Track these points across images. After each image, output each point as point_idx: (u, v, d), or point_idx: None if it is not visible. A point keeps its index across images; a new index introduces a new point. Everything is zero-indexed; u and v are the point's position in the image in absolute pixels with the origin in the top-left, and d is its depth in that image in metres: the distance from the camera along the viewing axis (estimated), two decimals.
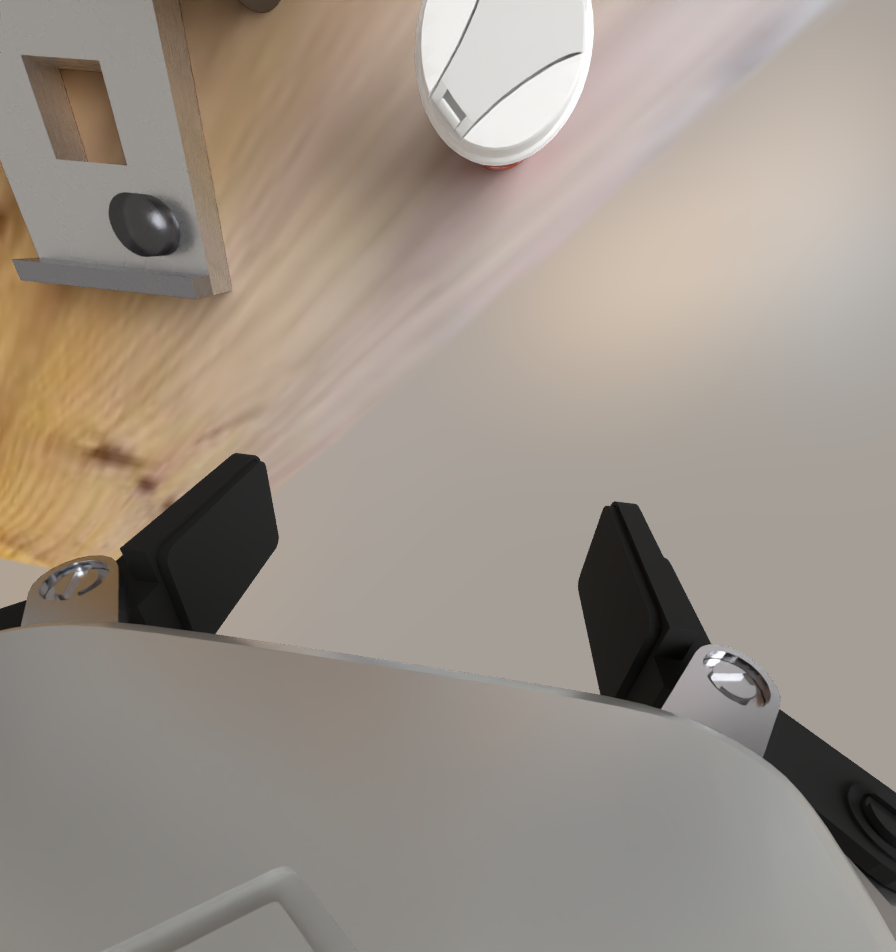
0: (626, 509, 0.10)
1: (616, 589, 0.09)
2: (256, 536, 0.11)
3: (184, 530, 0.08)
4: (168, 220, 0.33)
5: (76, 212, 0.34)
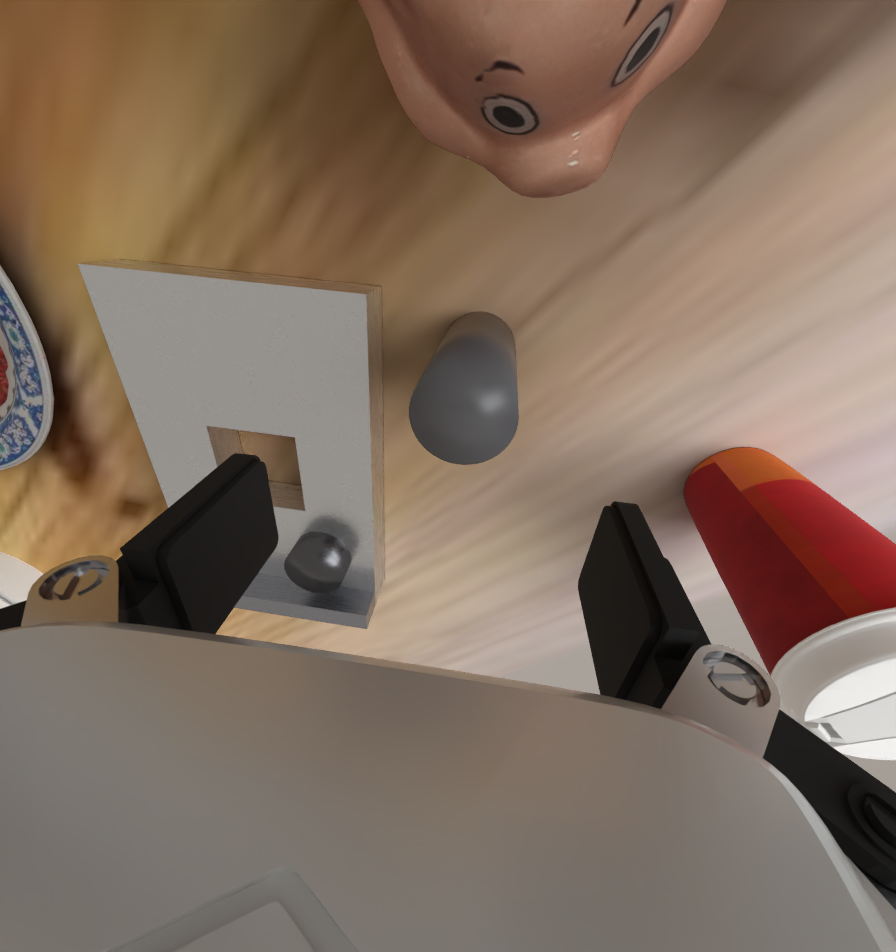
0: (626, 509, 0.10)
1: (616, 589, 0.09)
2: (256, 536, 0.11)
3: (184, 530, 0.08)
4: (345, 561, 0.30)
5: None
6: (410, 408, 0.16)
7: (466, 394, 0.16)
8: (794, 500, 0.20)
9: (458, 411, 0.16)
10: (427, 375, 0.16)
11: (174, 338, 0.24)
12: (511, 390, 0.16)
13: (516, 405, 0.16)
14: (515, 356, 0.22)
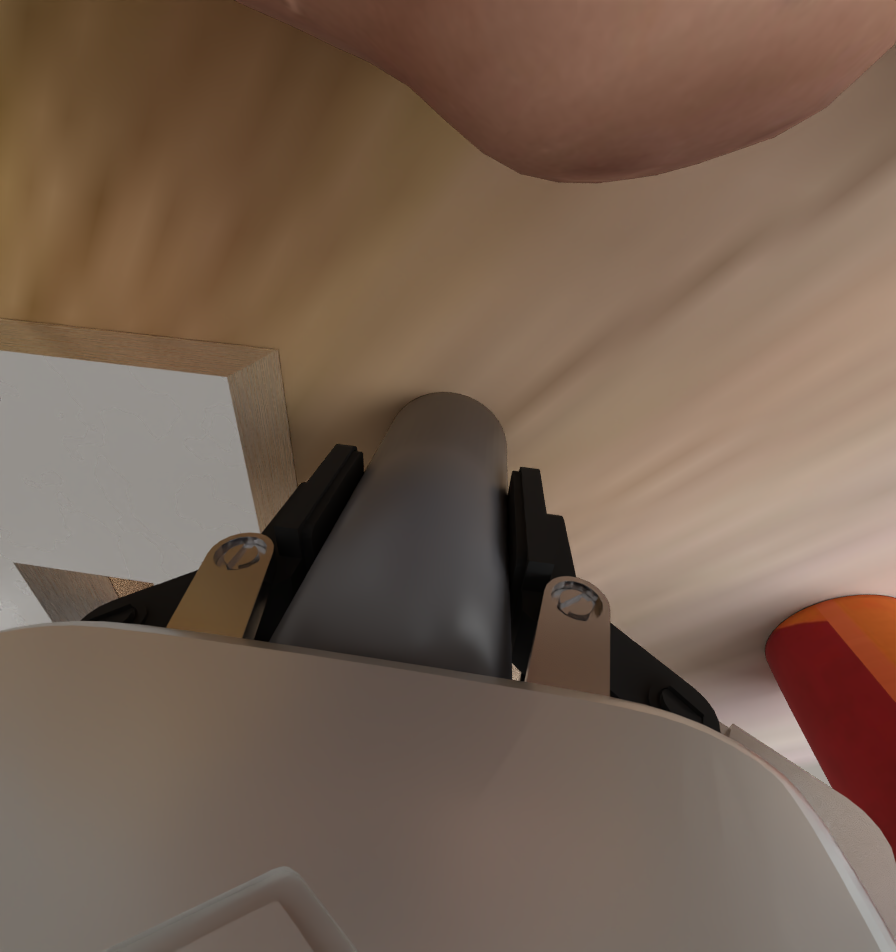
0: (527, 472, 0.11)
1: (509, 540, 0.10)
2: None
3: (319, 511, 0.09)
4: None
5: None
6: None
7: None
8: None
9: None
10: None
11: None
12: None
13: None
14: (506, 484, 0.12)
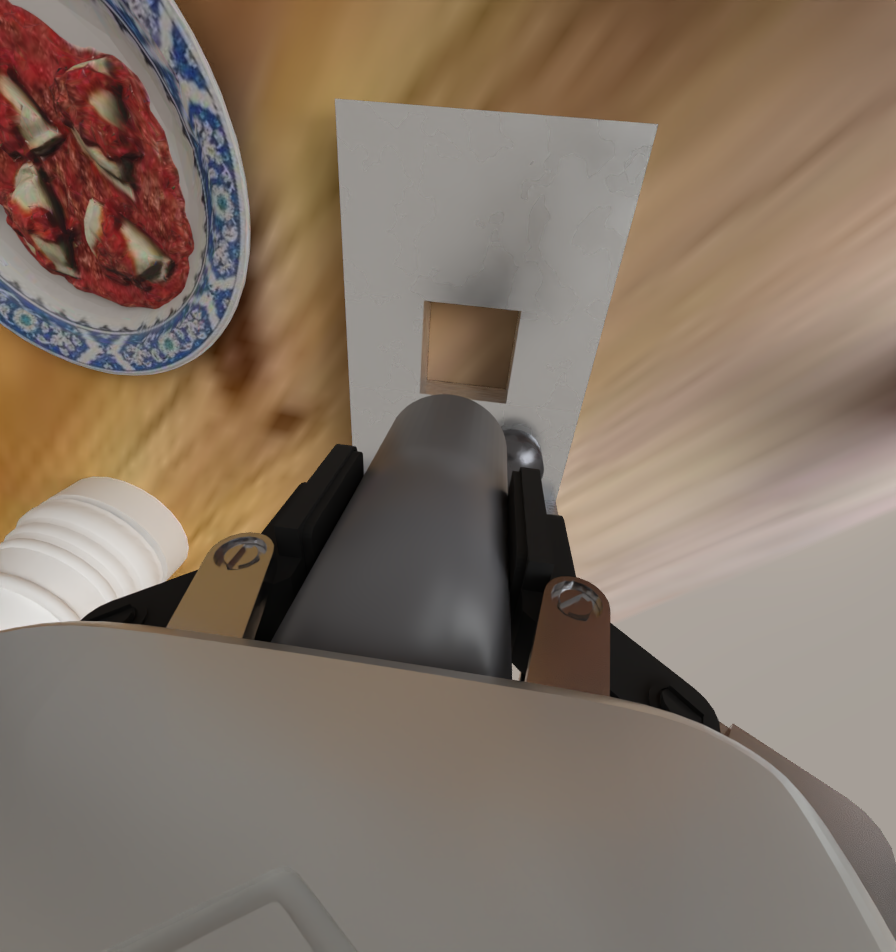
0: (527, 472, 0.11)
1: (509, 540, 0.10)
2: None
3: (319, 511, 0.09)
4: None
5: None
6: None
7: None
8: None
9: None
10: None
11: (420, 190, 0.22)
12: None
13: None
14: (506, 486, 0.12)
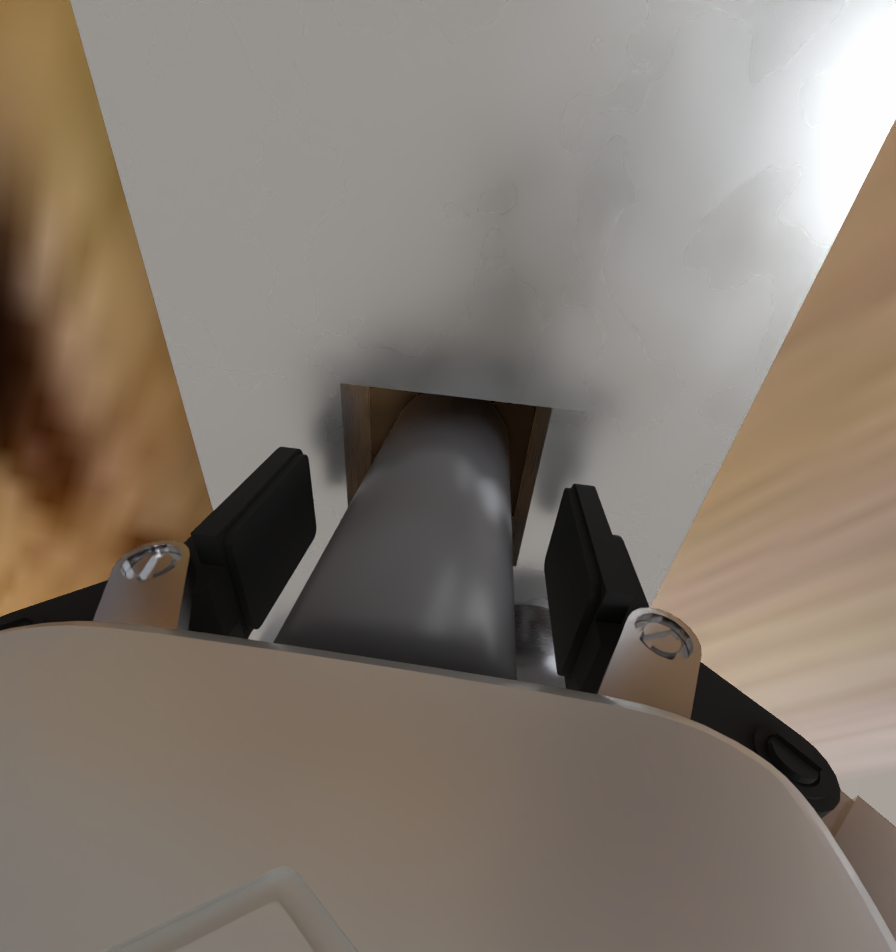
0: (583, 490, 0.10)
1: (569, 563, 0.09)
2: (299, 526, 0.11)
3: (245, 517, 0.09)
4: None
5: None
6: None
7: None
8: None
9: None
10: (292, 628, 0.06)
11: (302, 128, 0.09)
12: (500, 665, 0.06)
13: None
14: (509, 474, 0.12)
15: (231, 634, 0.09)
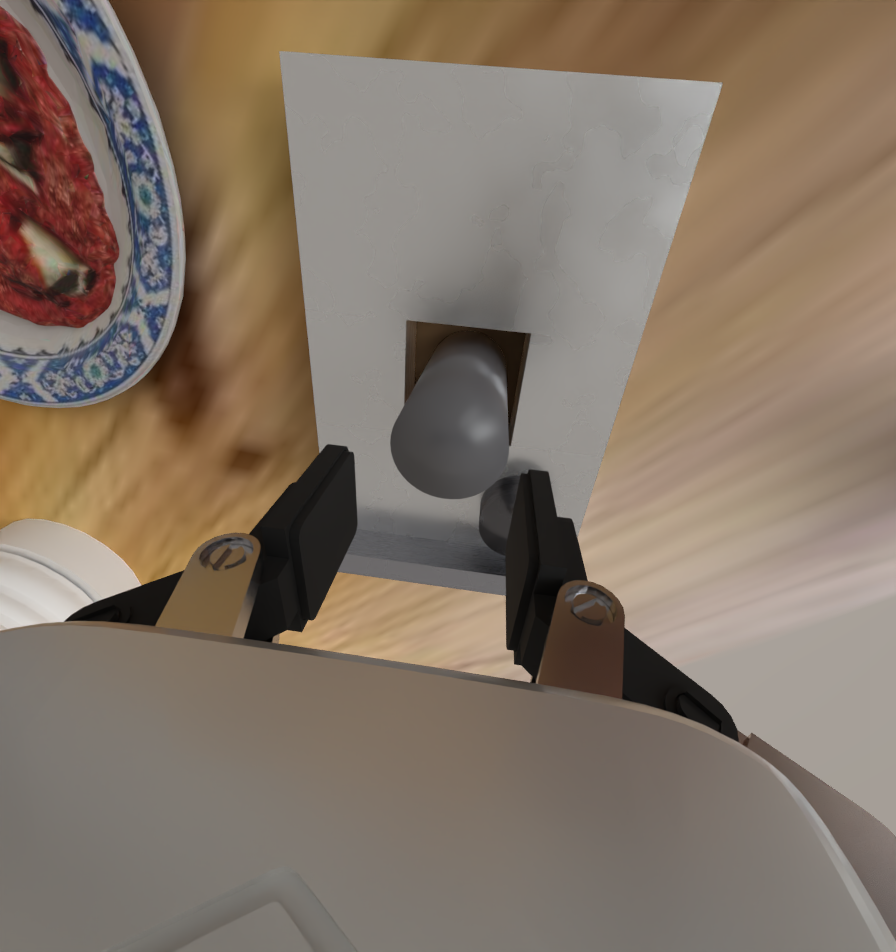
0: (536, 475, 0.11)
1: (519, 543, 0.10)
2: (345, 521, 0.12)
3: (307, 511, 0.09)
4: None
5: (404, 487, 0.25)
6: (391, 440, 0.15)
7: (452, 426, 0.14)
8: None
9: (443, 443, 0.15)
10: (409, 405, 0.14)
11: (398, 176, 0.17)
12: (500, 421, 0.14)
13: (506, 437, 0.14)
14: (506, 378, 0.20)
15: None
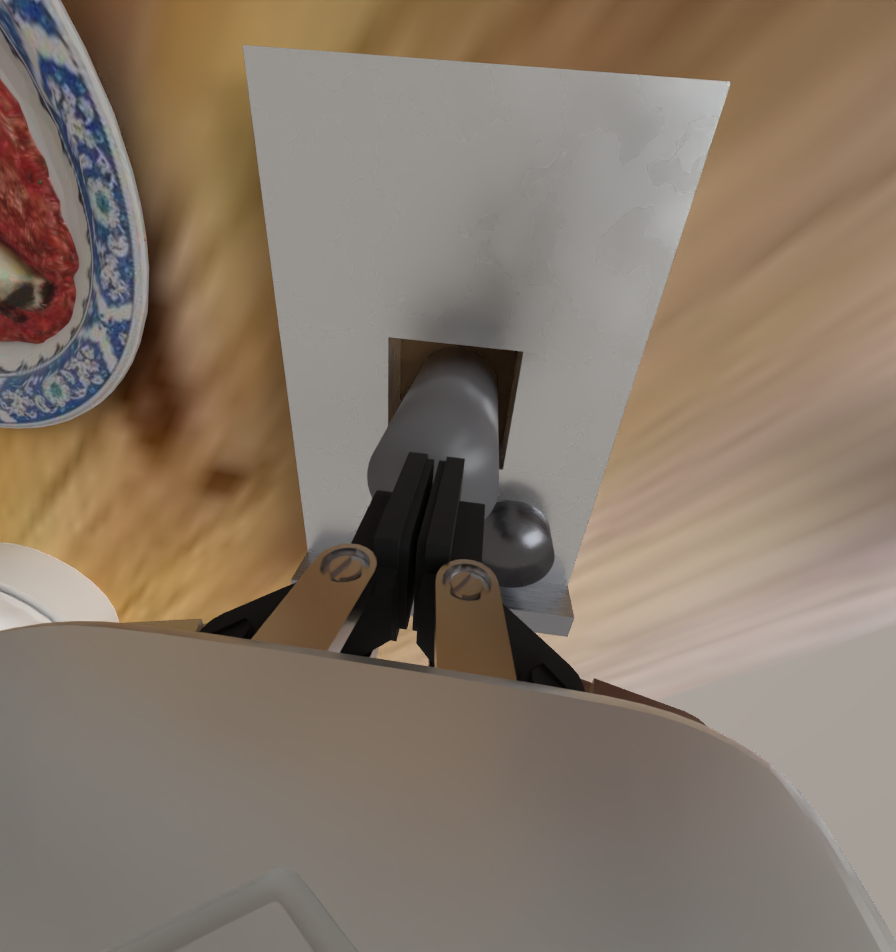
0: (451, 461, 0.11)
1: None
2: None
3: (411, 521, 0.09)
4: None
5: None
6: (368, 474, 0.14)
7: (435, 459, 0.13)
8: None
9: None
10: (387, 437, 0.13)
11: (376, 183, 0.15)
12: (489, 455, 0.13)
13: (496, 472, 0.13)
14: (497, 399, 0.19)
15: None
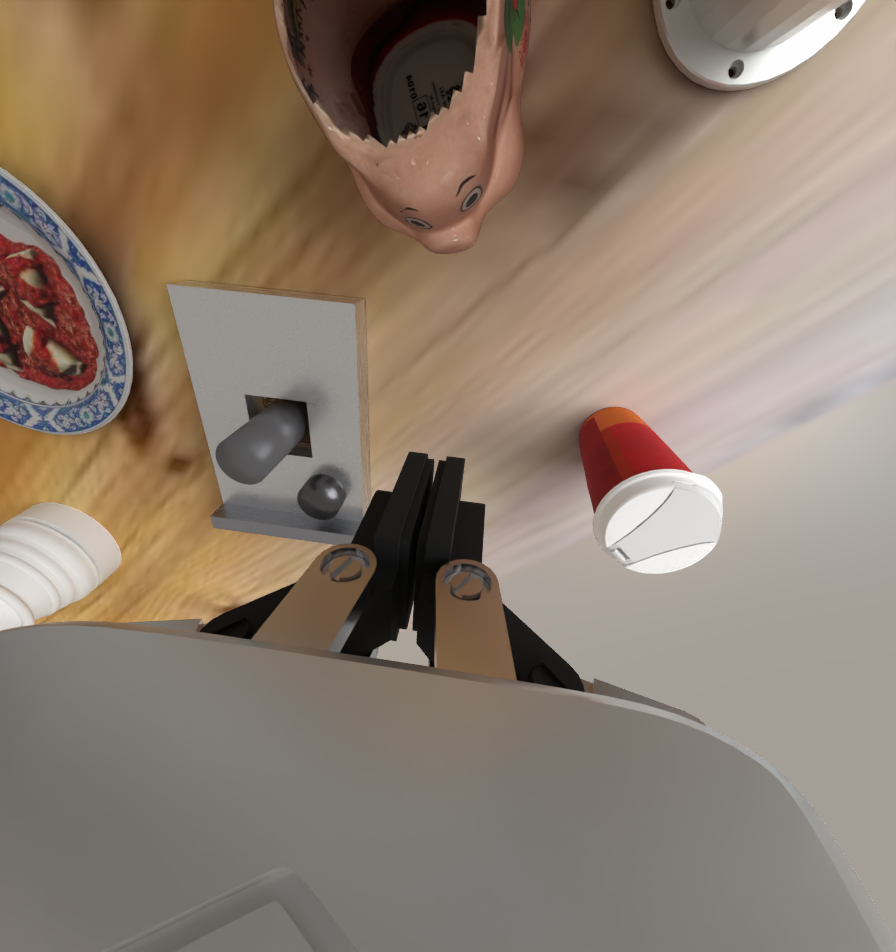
0: (451, 461, 0.11)
1: None
2: None
3: (411, 521, 0.09)
4: (341, 495, 0.42)
5: None
6: (216, 457, 0.34)
7: (239, 451, 0.33)
8: (625, 432, 0.32)
9: (238, 459, 0.34)
10: (220, 443, 0.33)
11: (227, 332, 0.35)
12: (259, 450, 0.33)
13: (263, 457, 0.33)
14: (300, 423, 0.39)
15: None
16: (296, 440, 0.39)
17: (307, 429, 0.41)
